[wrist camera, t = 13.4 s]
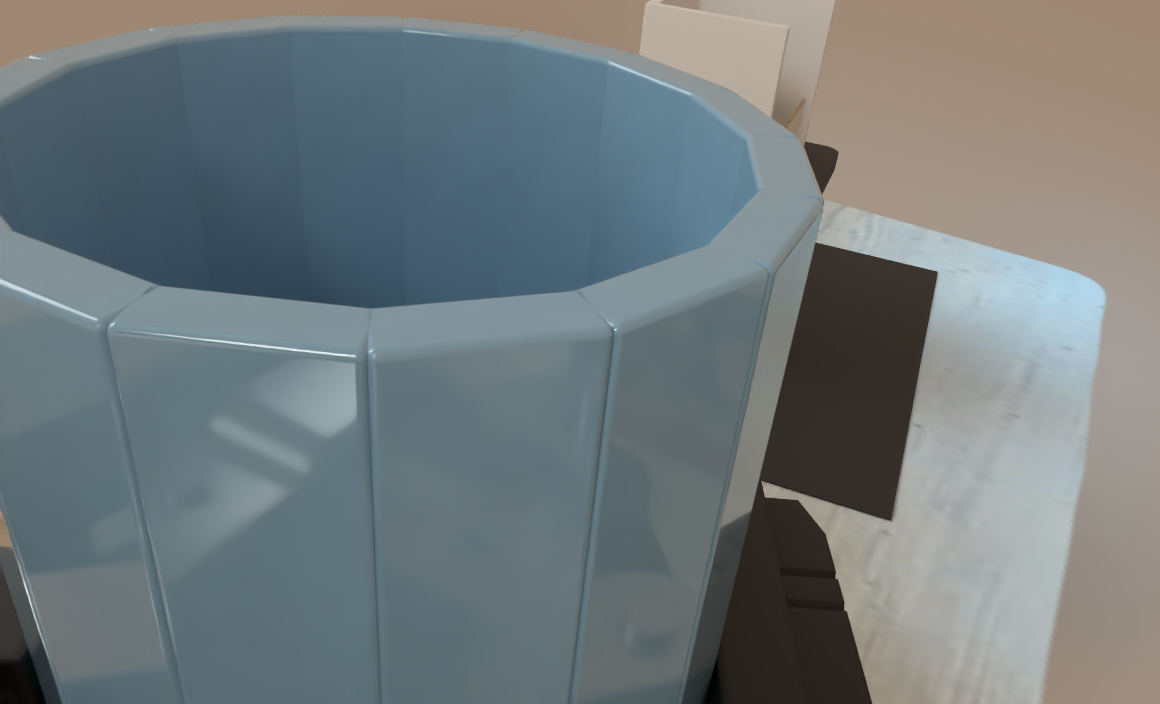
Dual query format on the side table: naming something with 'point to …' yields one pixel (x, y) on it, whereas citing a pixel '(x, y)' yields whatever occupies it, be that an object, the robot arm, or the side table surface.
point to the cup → (384, 362)
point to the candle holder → (814, 263)
